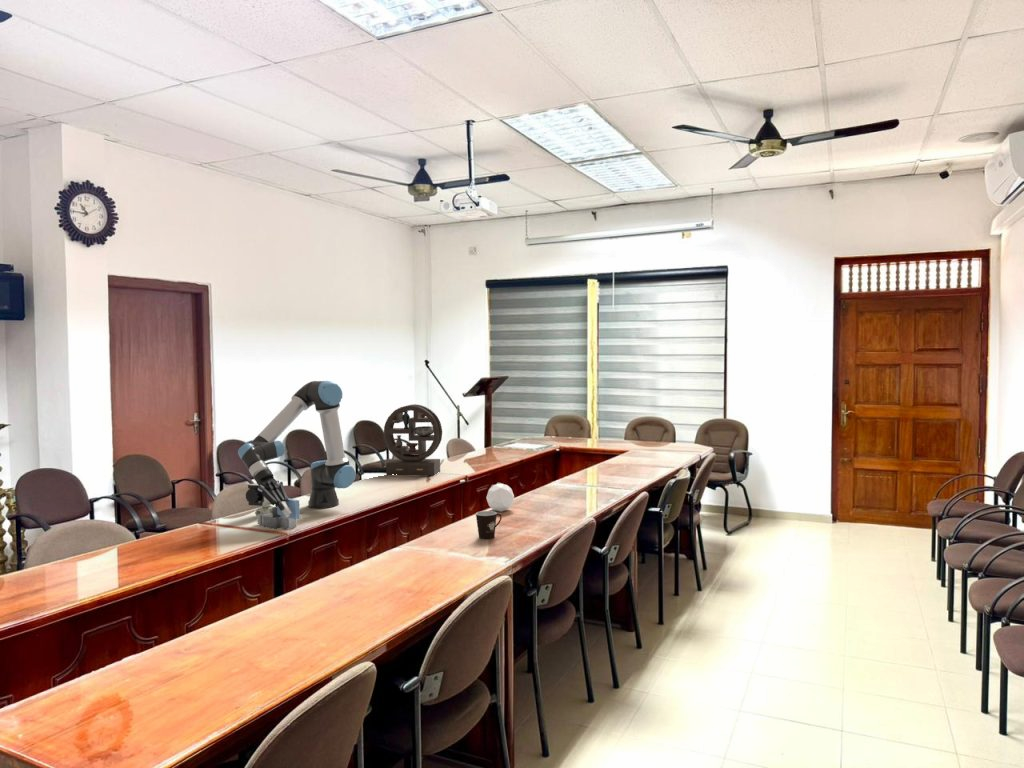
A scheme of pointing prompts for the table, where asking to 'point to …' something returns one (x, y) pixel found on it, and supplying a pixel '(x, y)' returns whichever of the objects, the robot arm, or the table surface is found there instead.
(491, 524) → the coffee mug
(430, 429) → the round curio shelf
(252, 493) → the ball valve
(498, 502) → the geodesic sphere
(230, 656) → the table surface
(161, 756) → the table surface
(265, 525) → the valve body
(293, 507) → the lever
